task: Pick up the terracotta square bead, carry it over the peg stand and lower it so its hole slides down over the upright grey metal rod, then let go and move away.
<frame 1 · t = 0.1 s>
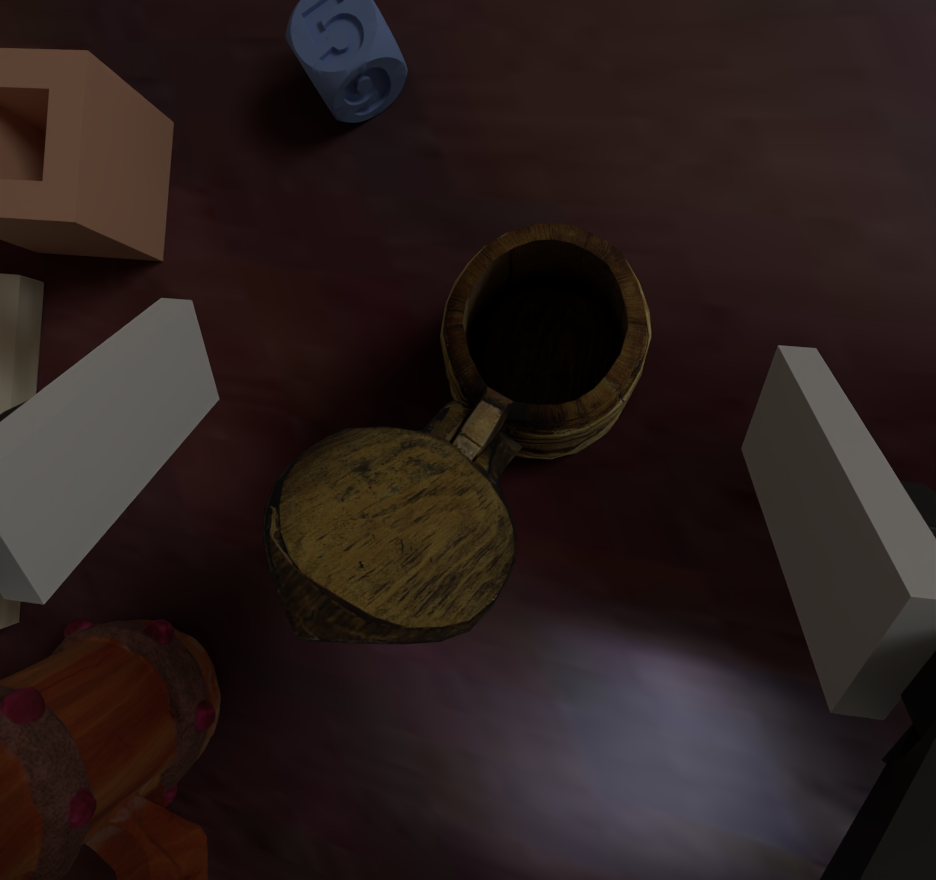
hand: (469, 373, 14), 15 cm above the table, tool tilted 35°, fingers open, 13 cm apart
mug: (192, 722, 32), on the table
bead: (104, 188, 32), on the table
wooden mug: (514, 401, 30), on the table
decorative dice: (361, 82, 30), on the table
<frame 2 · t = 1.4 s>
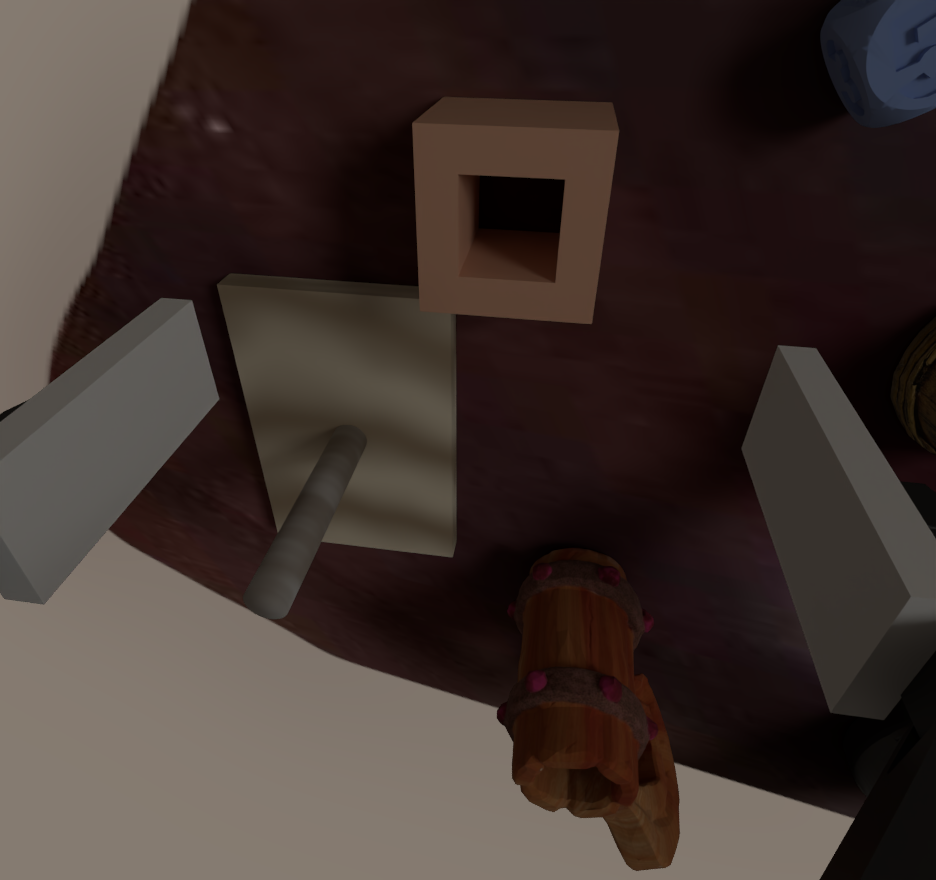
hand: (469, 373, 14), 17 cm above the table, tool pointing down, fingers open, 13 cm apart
mug: (597, 595, 43), on the table
bead: (521, 187, 28), on the table
peg stand: (357, 424, 37), on the table
decorative dice: (882, 34, 23), on the table
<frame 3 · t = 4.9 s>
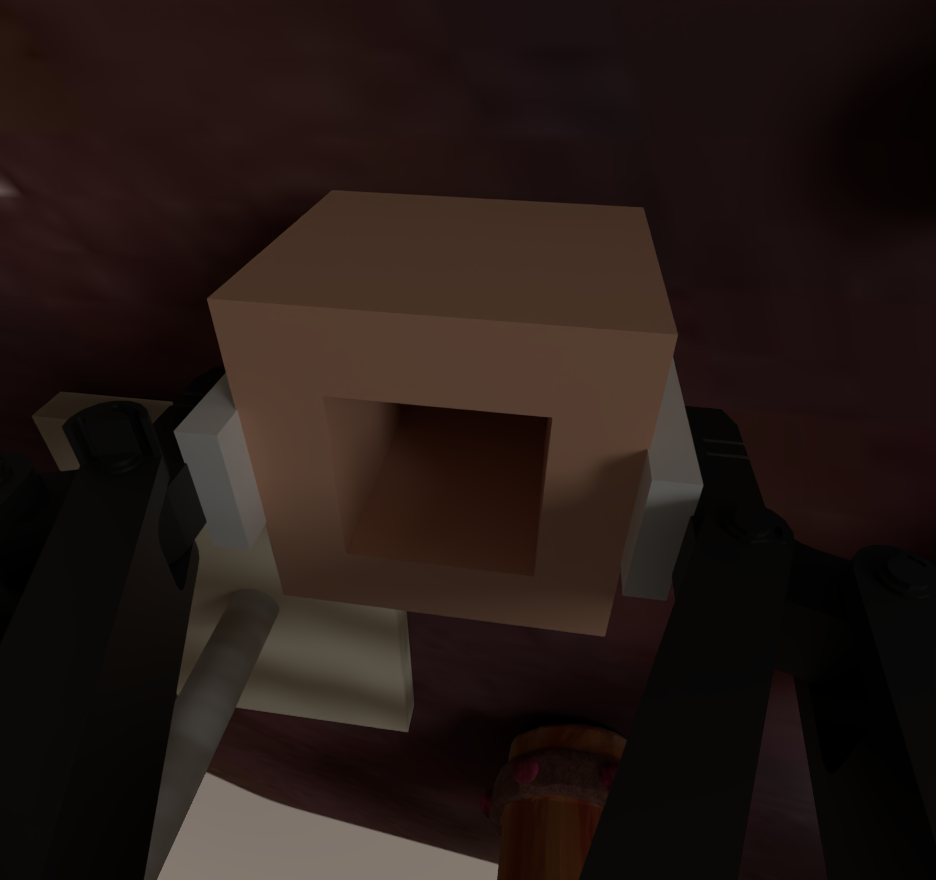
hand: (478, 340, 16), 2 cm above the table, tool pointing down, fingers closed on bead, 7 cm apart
mug: (599, 763, 33), on the table
bead: (479, 339, 16), point 2 cm above the table, touching gripper
peg stand: (269, 576, 27), on the table
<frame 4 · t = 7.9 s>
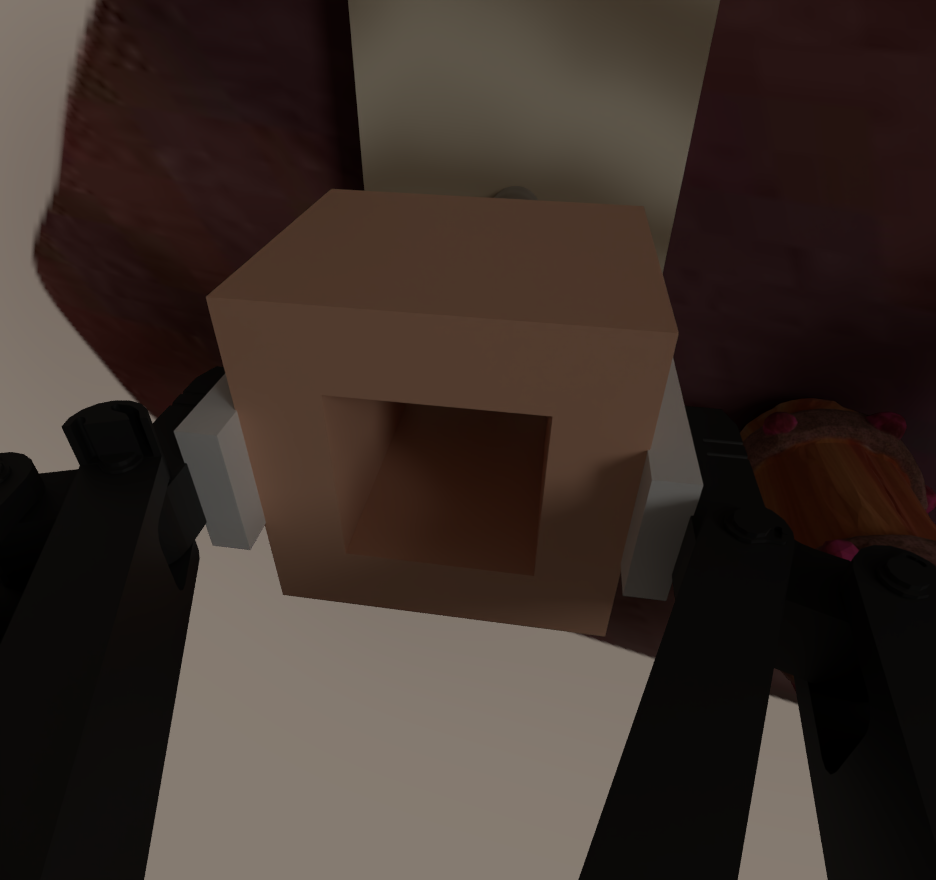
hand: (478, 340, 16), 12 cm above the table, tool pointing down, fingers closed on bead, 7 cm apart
mug: (816, 480, 31), on the table
bead: (479, 338, 16), point 12 cm above the table, touching gripper
peg stand: (518, 201, 25), on the table
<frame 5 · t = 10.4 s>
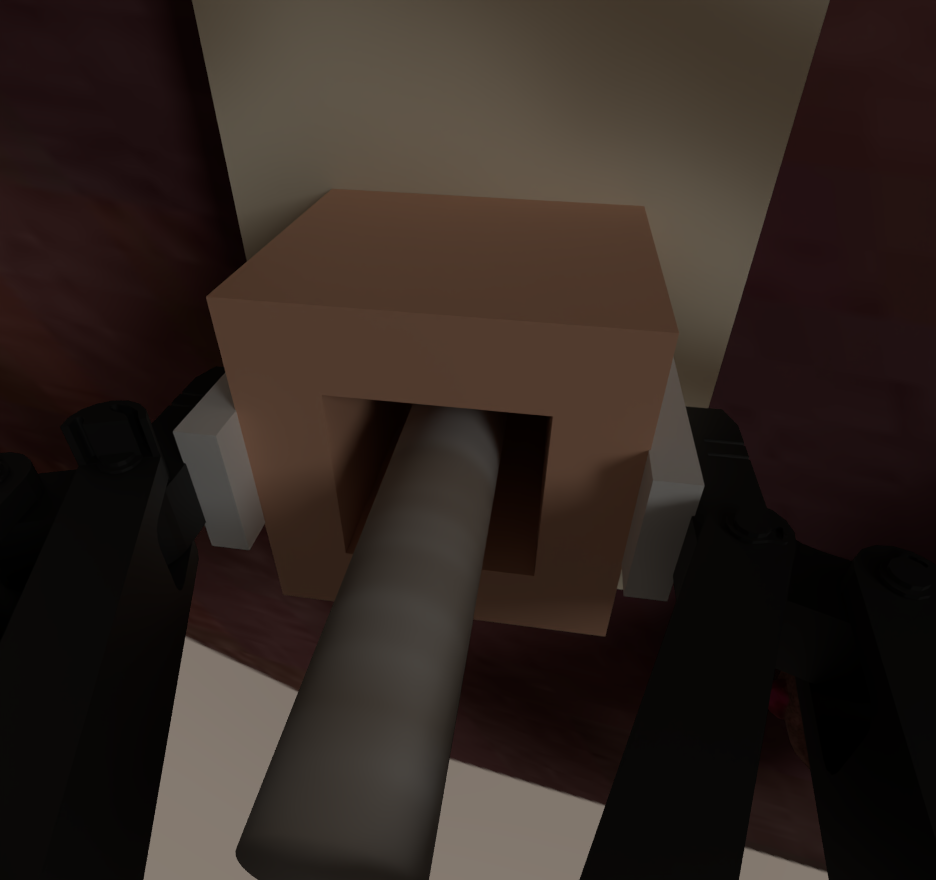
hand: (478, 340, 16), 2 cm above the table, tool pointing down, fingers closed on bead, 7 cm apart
mug: (899, 659, 23), on the table
bead: (479, 338, 16), point 2 cm above the table, touching gripper, peg stand
peg stand: (488, 311, 17), on the table
when the fingers open (2 cm above the table, at t = 11.2 s): bead stays where it is, resting on peg stand.
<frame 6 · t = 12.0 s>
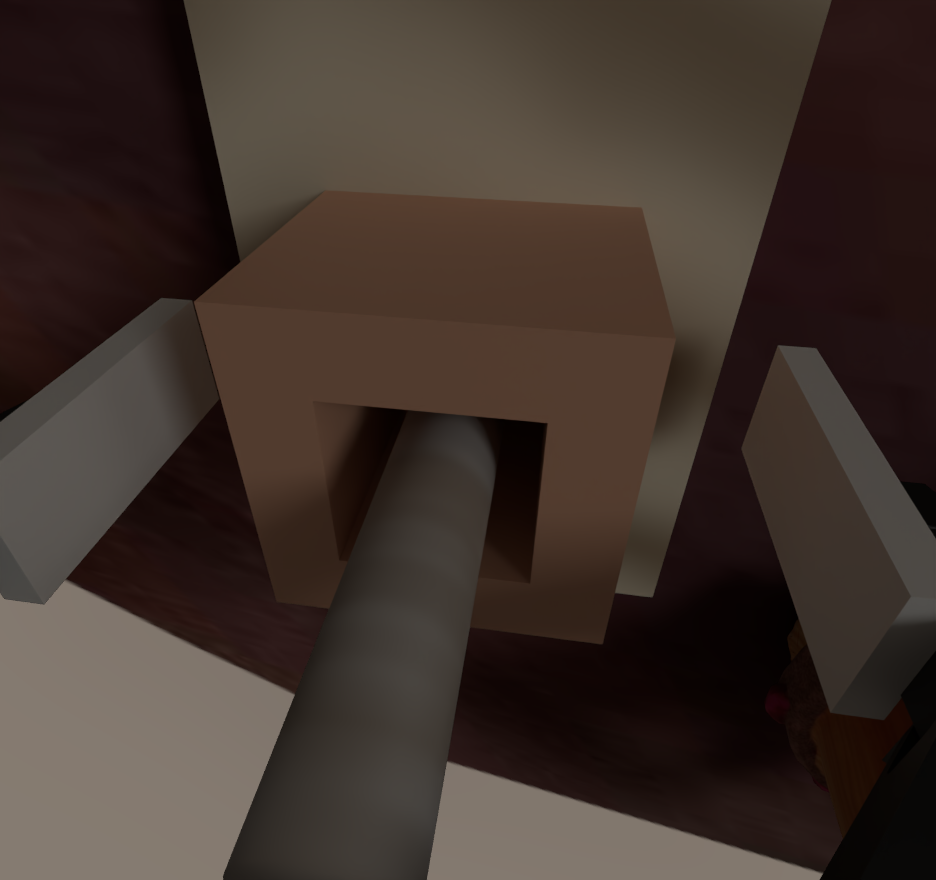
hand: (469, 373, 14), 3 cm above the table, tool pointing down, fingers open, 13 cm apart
mug: (900, 662, 23), on the table
bead: (476, 341, 16), point 1 cm above the table, touching peg stand
peg stand: (486, 313, 17), on the table
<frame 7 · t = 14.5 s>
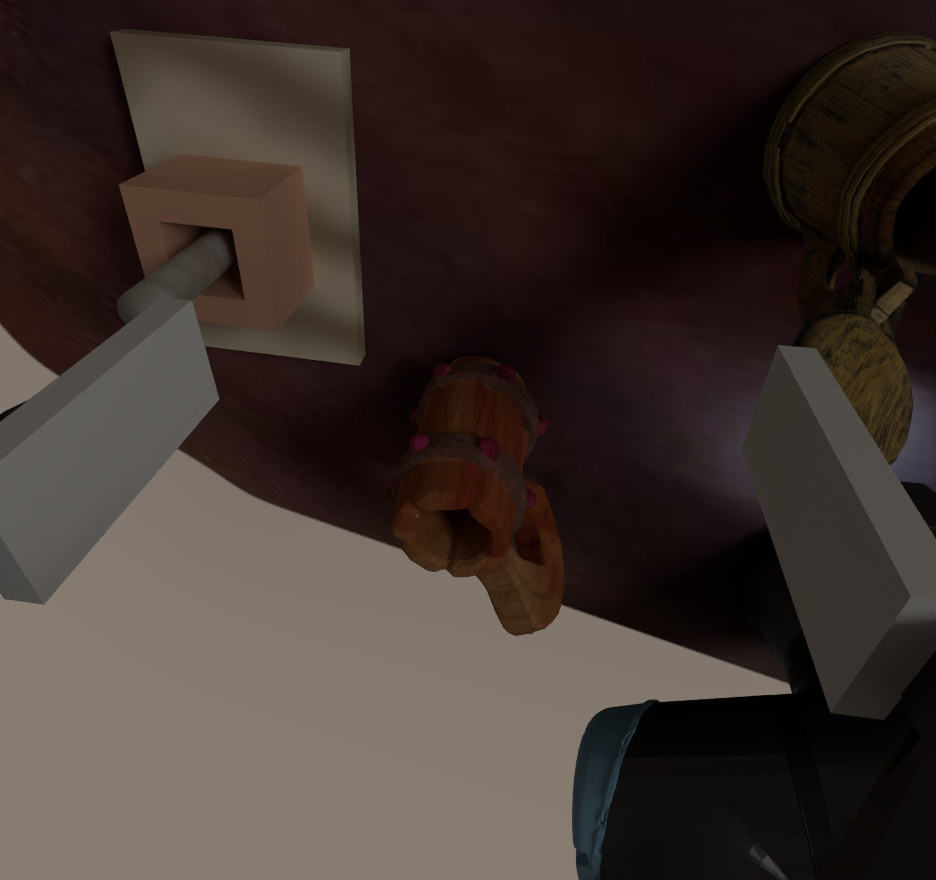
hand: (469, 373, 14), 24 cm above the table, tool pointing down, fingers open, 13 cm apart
mug: (503, 417, 45), on the table
bead: (251, 223, 36), point 1 cm above the table, touching peg stand
wooden mug: (819, 178, 32), on the table
peg stand: (262, 214, 38), on the table
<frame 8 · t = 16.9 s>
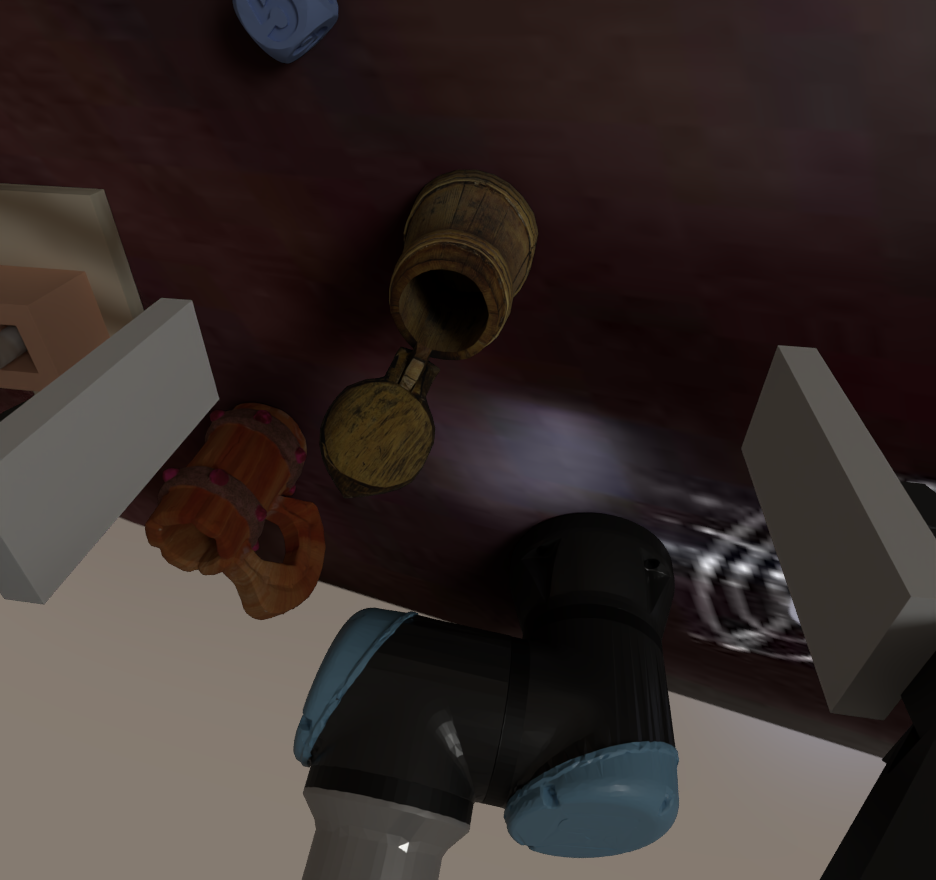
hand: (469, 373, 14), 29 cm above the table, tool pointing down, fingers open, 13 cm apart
mug: (291, 448, 56), on the table
bead: (60, 311, 48), point 1 cm above the table, touching peg stand
wooden mug: (456, 266, 43), on the table
peg stand: (73, 302, 49), on the table
decorative dice: (300, 2, 35), on the table
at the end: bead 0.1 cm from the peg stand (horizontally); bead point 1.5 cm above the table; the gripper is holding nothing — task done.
